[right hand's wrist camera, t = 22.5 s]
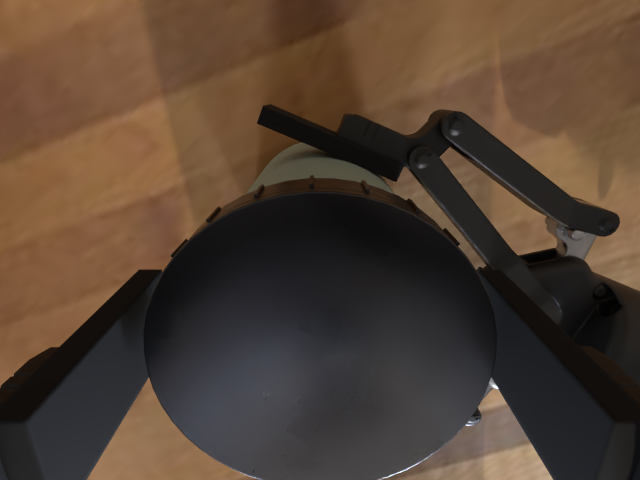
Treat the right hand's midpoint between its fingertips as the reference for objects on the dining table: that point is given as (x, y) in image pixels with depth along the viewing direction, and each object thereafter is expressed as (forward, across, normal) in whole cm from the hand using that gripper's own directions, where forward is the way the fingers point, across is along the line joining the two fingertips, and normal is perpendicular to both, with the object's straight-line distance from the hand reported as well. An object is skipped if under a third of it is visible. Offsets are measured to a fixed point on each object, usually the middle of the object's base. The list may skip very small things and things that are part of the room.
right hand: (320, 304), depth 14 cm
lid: (-3, 0, 0) cm, 3 cm away
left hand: (+7, -4, +2) cm, 8 cm away
